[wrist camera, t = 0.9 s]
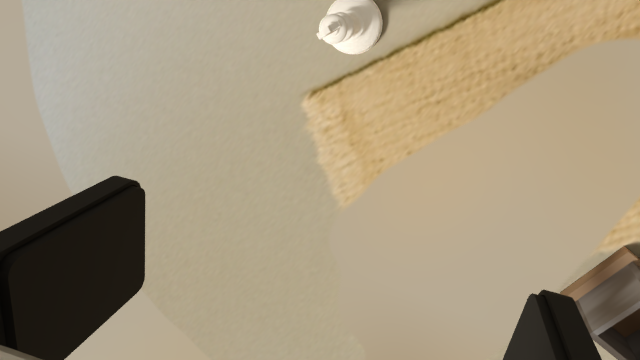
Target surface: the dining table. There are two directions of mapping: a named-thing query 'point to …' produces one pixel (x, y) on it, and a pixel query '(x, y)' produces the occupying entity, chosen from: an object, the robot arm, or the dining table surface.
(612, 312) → the open cube shadow box
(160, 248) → the dining table surface
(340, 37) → the chess piece
